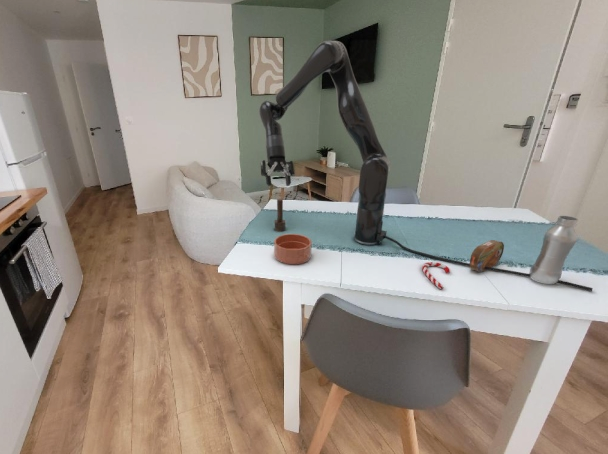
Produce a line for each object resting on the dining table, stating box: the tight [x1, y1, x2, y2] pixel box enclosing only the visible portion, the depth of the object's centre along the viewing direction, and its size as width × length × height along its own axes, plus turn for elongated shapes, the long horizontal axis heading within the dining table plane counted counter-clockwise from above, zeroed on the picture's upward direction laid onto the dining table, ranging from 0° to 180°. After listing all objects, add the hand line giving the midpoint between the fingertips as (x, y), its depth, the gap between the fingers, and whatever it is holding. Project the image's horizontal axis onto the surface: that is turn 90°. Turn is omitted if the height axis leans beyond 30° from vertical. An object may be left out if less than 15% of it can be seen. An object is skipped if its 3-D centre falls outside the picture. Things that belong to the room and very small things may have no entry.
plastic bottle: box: [528, 215, 579, 285], centre depth 82 cm, size 6×7×20 cm
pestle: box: [274, 198, 286, 232], centre depth 127 cm, size 5×5×14 cm
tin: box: [468, 239, 505, 273], centre depth 93 cm, size 15×3×8 cm, turn 117°
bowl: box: [273, 233, 313, 265], centre depth 105 cm, size 13×13×6 cm
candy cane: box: [421, 261, 451, 290], centre depth 90 cm, size 8×1×15 cm
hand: (279, 185), depth 121 cm, fingers open, 8 cm apart
